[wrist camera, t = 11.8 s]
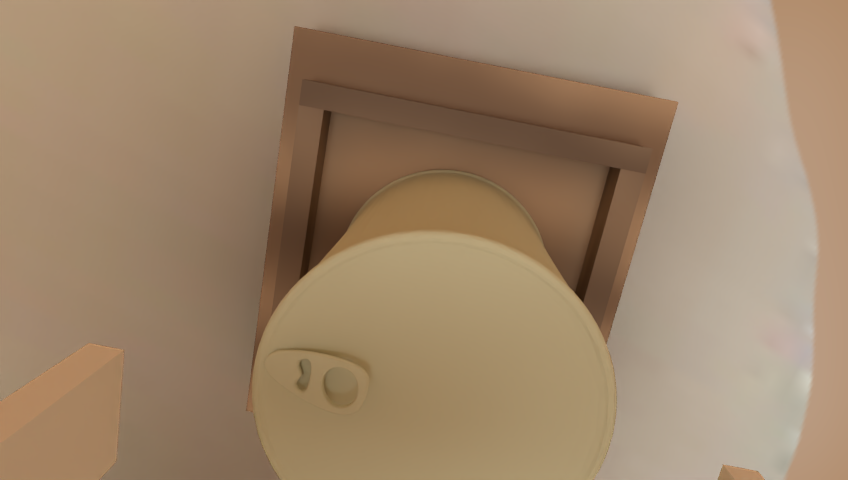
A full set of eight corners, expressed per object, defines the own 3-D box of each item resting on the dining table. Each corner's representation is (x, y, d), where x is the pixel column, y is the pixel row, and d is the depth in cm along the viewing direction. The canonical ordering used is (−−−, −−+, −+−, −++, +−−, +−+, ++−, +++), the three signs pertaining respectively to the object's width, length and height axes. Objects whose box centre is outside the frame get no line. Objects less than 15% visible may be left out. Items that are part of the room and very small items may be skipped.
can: (368, 143, 24) (283, 183, 12) (575, 202, 24) (688, 299, 12) (320, 335, 26) (210, 523, 14) (509, 388, 26) (551, 618, 14)
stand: (556, 439, 30) (573, 496, 26) (266, 380, 30) (234, 428, 26) (652, 102, 26) (693, 102, 21) (312, 34, 26) (283, 20, 21)
